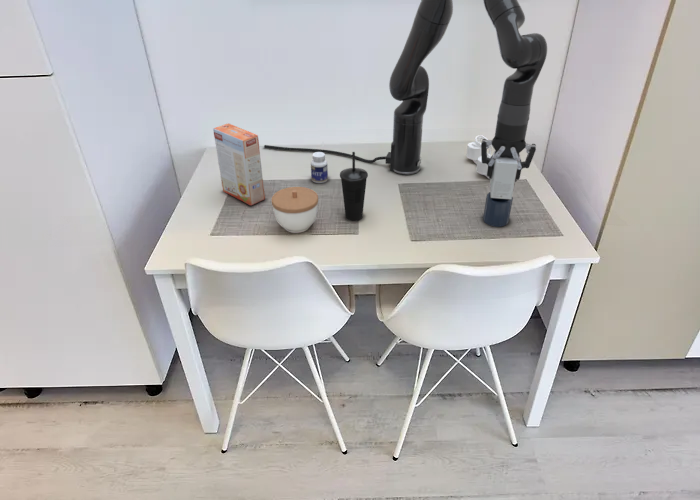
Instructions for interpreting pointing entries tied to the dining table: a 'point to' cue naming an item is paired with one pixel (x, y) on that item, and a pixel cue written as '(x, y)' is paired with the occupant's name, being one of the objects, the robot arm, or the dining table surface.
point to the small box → (503, 178)
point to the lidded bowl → (295, 208)
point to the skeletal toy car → (478, 154)
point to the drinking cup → (353, 191)
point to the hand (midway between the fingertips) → (502, 178)
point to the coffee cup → (497, 211)
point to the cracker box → (239, 163)
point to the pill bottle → (319, 168)
